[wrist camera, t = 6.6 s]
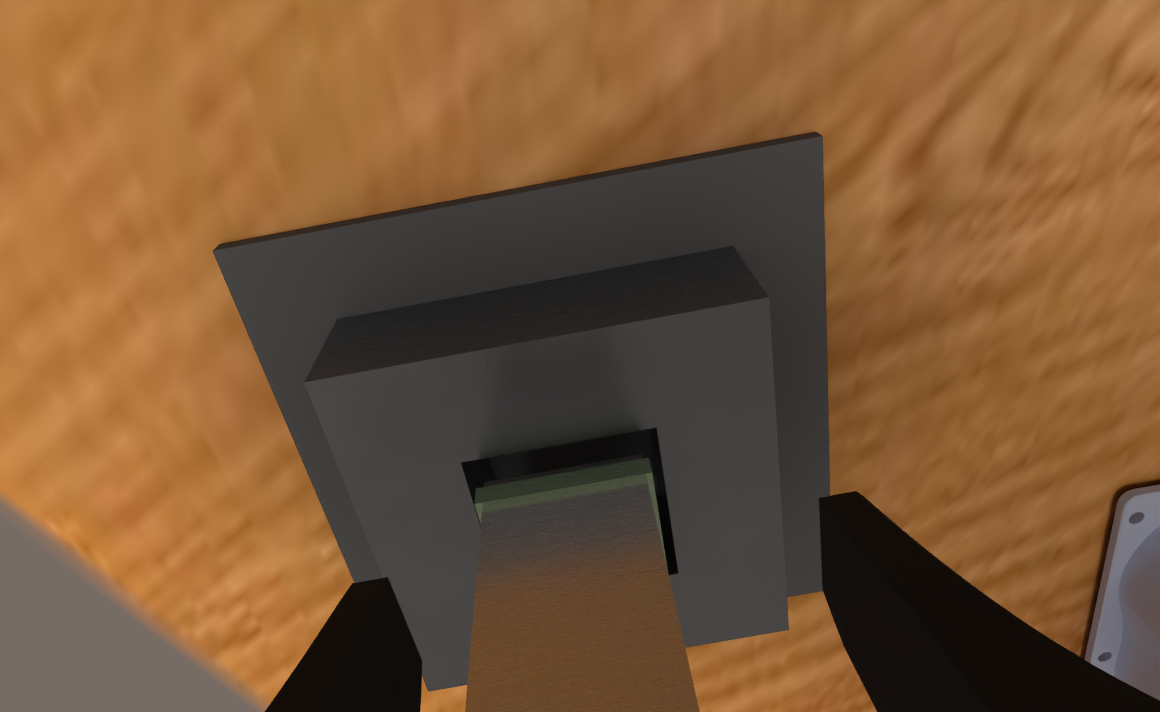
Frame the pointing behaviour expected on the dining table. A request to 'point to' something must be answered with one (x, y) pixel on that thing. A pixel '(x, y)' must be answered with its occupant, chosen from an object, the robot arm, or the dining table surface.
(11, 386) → the dining table surface
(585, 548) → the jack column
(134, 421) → the dining table surface
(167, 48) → the dining table surface
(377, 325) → the jack housing
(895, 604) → the robot arm
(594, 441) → the base mat
